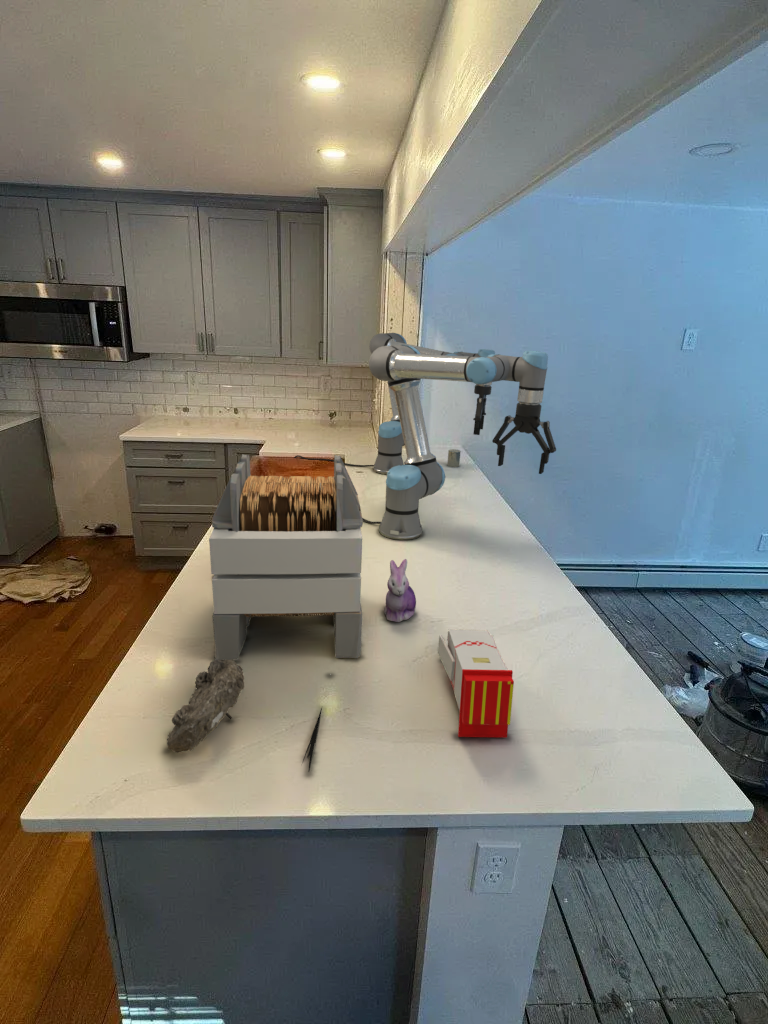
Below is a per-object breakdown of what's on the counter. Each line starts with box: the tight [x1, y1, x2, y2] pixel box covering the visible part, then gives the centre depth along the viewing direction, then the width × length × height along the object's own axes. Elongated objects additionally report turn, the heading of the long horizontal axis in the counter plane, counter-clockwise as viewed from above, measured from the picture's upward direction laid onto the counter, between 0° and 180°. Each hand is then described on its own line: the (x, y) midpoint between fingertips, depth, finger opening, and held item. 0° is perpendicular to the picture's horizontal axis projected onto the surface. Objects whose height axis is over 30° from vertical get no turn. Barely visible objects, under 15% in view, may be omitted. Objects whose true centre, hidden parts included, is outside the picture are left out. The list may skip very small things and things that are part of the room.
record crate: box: [208, 453, 364, 661], centre depth 135 cm, size 34×33×41 cm
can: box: [446, 448, 462, 468], centre depth 290 cm, size 6×6×8 cm
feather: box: [301, 673, 332, 771], centre depth 108 cm, size 2×28×2 cm
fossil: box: [166, 659, 245, 754], centre depth 106 cm, size 22×10×15 cm
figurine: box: [384, 558, 417, 623], centre depth 145 cm, size 9×10×15 cm
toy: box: [437, 628, 515, 738], centre depth 117 cm, size 12×13×30 cm
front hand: (520, 469), depth 183 cm, fingers open, 13 cm apart
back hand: (478, 431), depth 262 cm, fingers open, 13 cm apart
